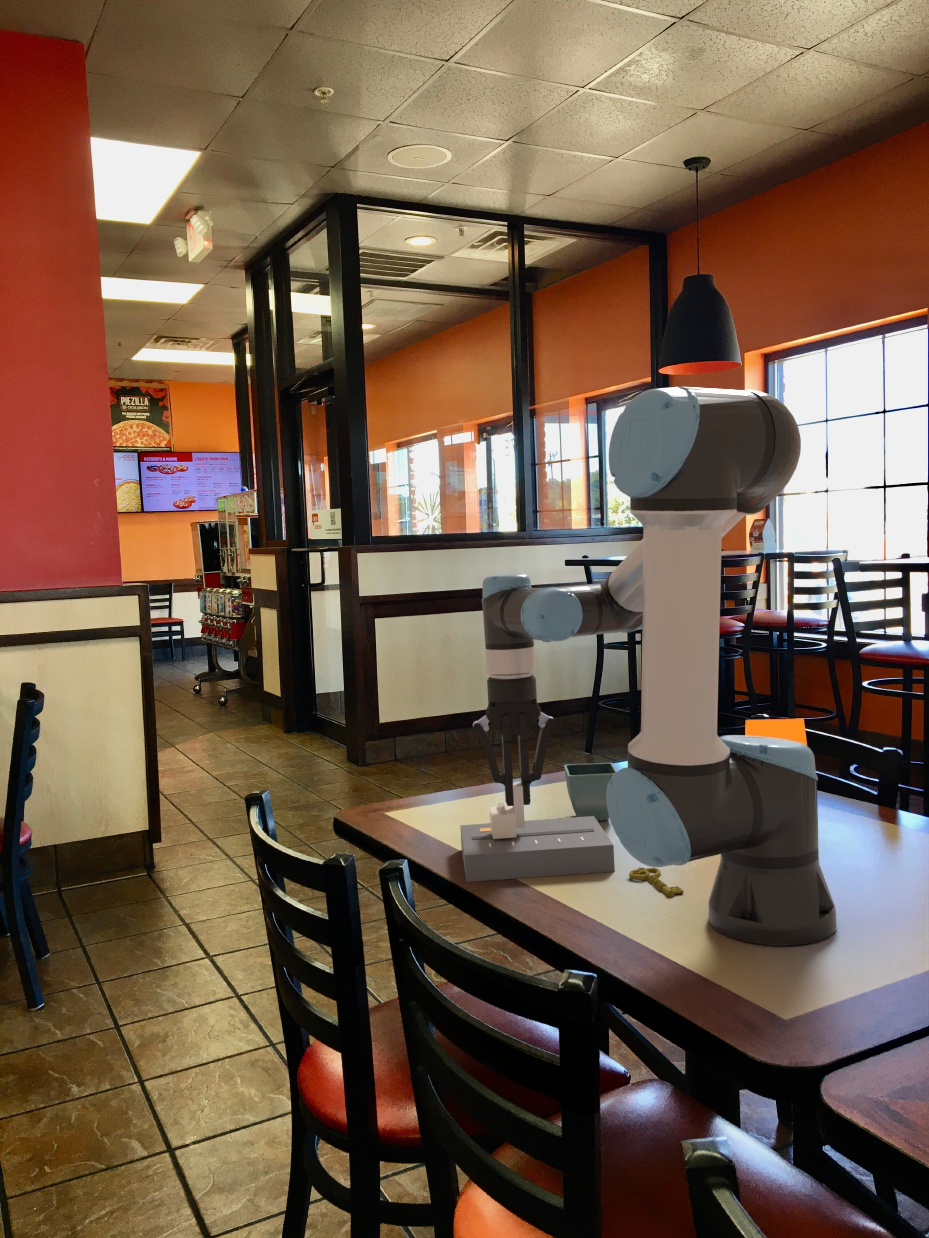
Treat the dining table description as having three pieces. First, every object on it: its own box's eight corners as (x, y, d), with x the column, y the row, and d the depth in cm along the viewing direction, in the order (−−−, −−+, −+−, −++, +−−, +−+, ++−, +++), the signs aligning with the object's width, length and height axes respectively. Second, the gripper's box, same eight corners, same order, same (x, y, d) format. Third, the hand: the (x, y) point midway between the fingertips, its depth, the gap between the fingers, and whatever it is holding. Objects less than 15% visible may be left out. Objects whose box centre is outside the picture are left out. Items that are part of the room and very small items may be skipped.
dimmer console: (614, 871, 141) (613, 844, 141) (466, 881, 140) (464, 854, 140) (595, 839, 157) (593, 815, 157) (461, 849, 156) (460, 824, 156)
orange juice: (813, 854, 144) (808, 723, 142) (752, 854, 145) (746, 724, 144) (805, 839, 151) (800, 714, 150) (747, 839, 153) (742, 715, 152)
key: (686, 888, 130) (651, 892, 129) (686, 897, 130) (652, 901, 129) (653, 863, 142) (621, 867, 141) (654, 871, 142) (622, 875, 141)
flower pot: (621, 823, 166) (618, 772, 165) (570, 826, 166) (567, 775, 165) (614, 810, 175) (612, 761, 174) (566, 812, 175) (563, 764, 174)
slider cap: (516, 837, 146) (515, 810, 146) (493, 838, 146) (491, 811, 145) (513, 828, 151) (512, 801, 151) (490, 829, 151) (489, 803, 150)
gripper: (550, 669, 151) (557, 816, 152) (467, 674, 151) (476, 821, 152) (556, 675, 143) (564, 829, 145) (469, 680, 143) (478, 835, 145)
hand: (519, 825), depth 149 cm, fingers closed
